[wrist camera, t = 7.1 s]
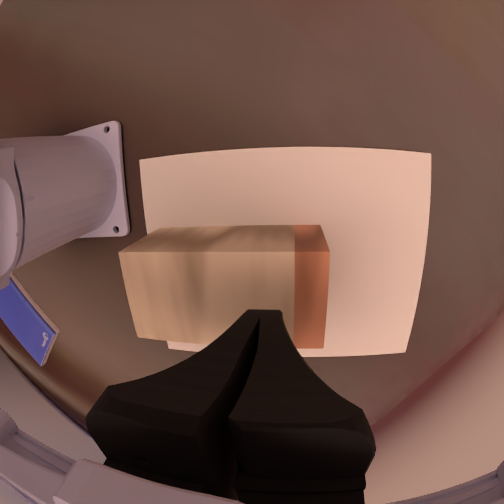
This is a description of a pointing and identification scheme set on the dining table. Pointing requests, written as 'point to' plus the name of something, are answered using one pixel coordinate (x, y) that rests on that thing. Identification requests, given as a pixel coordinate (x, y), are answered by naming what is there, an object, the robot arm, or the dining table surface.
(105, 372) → the dining table surface
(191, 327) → the birch block
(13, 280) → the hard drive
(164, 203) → the beige mat
